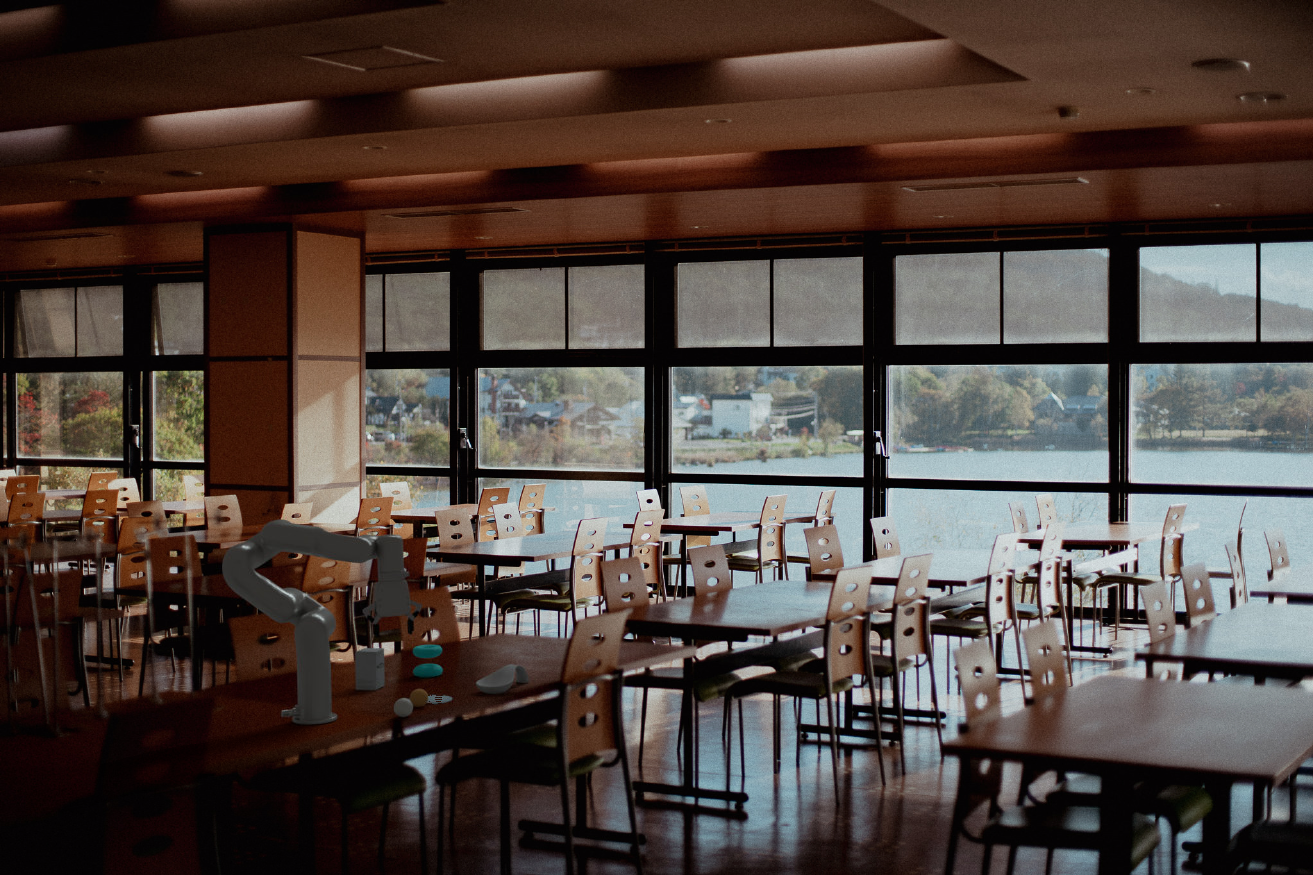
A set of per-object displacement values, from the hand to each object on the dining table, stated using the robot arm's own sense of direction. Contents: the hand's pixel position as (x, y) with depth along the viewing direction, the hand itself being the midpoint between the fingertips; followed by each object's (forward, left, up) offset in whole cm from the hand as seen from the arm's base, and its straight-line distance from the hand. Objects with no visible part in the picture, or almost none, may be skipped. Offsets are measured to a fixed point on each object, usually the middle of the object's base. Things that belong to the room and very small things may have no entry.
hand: (393, 635), depth 391 cm
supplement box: (+10, +50, -25) cm, 56 cm away
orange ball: (+12, +11, -22) cm, 27 cm away
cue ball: (+3, +1, -22) cm, 22 cm away
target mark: (+18, +19, -24) cm, 36 cm away
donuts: (+34, +60, -25) cm, 73 cm away
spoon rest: (+45, +22, -25) cm, 56 cm away
